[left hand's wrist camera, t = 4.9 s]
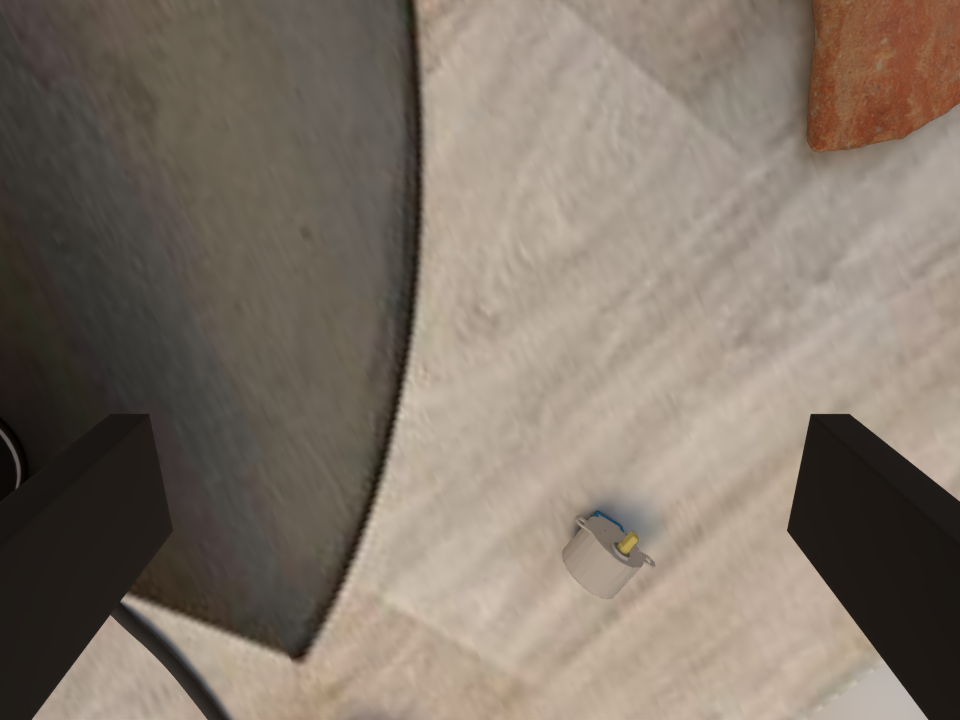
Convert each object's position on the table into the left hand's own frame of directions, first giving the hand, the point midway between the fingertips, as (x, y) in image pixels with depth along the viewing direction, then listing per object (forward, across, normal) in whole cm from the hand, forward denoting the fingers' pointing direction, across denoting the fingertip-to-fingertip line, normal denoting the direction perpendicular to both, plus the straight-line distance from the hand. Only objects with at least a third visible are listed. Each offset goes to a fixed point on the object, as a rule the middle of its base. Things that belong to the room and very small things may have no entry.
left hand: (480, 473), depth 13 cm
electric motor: (+28, +9, -21) cm, 36 cm away
